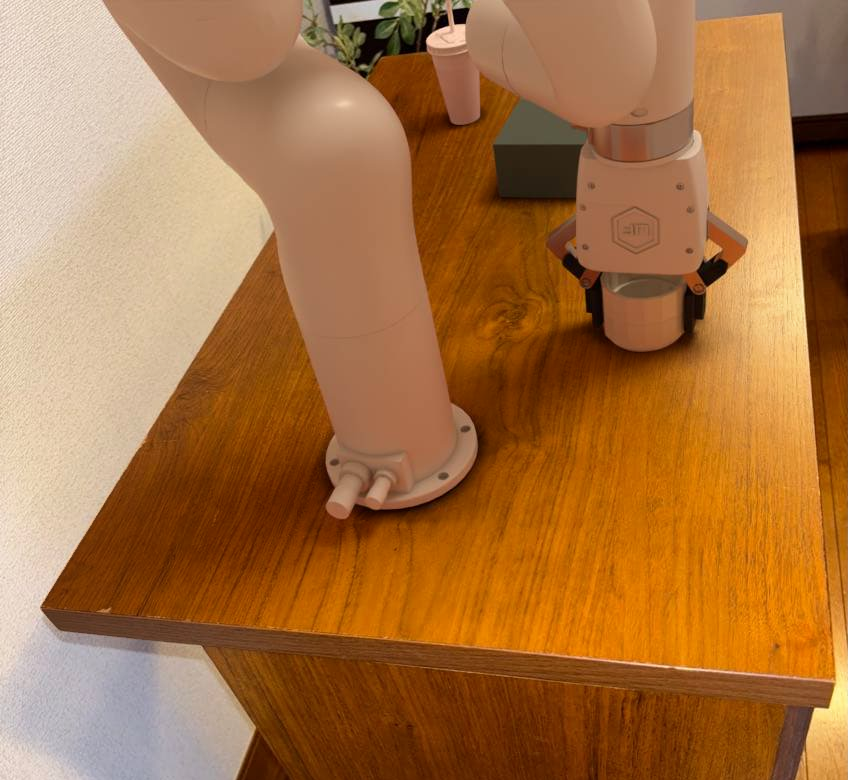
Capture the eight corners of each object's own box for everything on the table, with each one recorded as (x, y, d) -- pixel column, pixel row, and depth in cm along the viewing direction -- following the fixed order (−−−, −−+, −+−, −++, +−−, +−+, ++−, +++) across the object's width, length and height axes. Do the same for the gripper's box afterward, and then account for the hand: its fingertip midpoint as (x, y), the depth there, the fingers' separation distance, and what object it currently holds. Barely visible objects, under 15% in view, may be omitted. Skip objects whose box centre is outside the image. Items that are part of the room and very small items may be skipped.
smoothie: (492, 101, 121) (476, -20, 111) (489, 126, 117) (473, 2, 107) (441, 108, 123) (421, -11, 112) (437, 133, 118) (415, 11, 108)
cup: (679, 357, 83) (679, 302, 79) (595, 351, 86) (591, 298, 82) (694, 306, 87) (695, 252, 83) (614, 301, 90) (611, 249, 86)
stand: (590, 199, 102) (587, 144, 98) (499, 197, 106) (492, 144, 101) (612, 150, 108) (610, 96, 104) (525, 150, 112) (519, 98, 107)
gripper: (515, 151, 74) (537, 341, 87) (756, 151, 68) (742, 355, 81) (541, 103, 78) (559, 291, 91) (770, 99, 72) (755, 301, 85)
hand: (645, 320), depth 86 cm, fingers closed on cup, 7 cm apart
